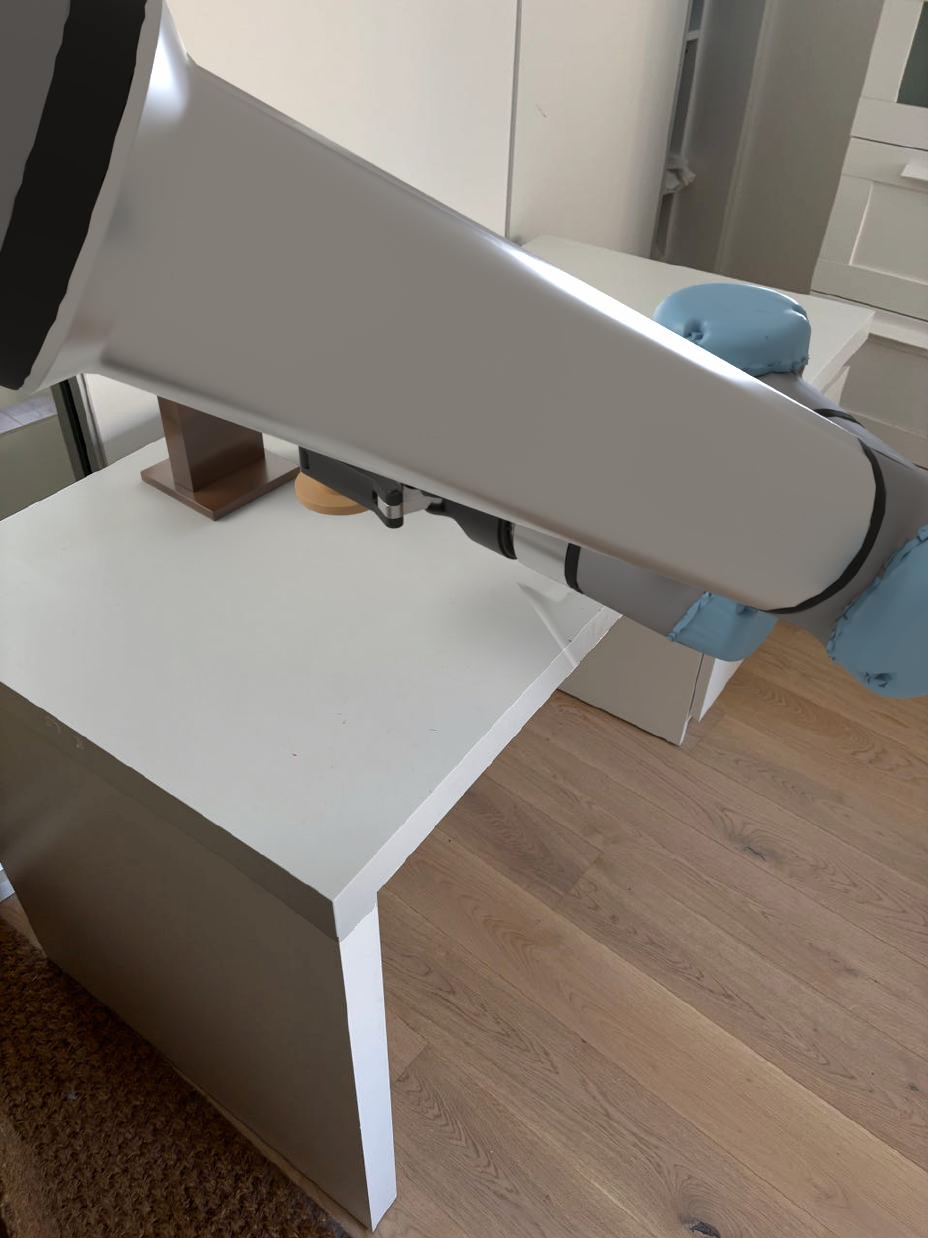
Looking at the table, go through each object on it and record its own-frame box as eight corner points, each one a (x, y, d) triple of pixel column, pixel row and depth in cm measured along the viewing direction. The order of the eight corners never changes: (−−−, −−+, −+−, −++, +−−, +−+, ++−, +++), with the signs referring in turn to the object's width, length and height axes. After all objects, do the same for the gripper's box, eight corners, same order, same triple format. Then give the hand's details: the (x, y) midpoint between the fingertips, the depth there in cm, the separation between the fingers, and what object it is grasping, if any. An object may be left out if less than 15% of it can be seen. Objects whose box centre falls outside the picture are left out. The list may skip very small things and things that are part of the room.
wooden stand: (346, 497, 93) (334, 328, 83) (259, 547, 87) (234, 370, 76) (228, 438, 102) (204, 278, 91) (141, 480, 95) (103, 312, 84)
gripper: (452, 620, 57) (200, 481, 68) (610, 501, 67) (368, 398, 78) (454, 514, 52) (182, 383, 63) (624, 403, 62) (364, 308, 74)
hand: (285, 391), depth 71 cm, fingers closed on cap, 4 cm apart
